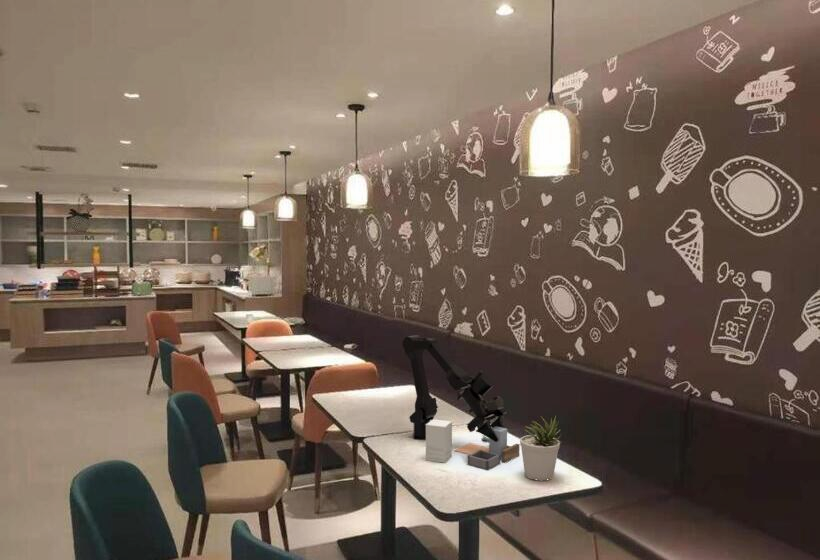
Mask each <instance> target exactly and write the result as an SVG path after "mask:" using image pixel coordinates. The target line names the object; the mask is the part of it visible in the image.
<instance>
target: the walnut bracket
mask: <svg viewBox="0 0 820 560" xmlns="http://www.w3.org/2000/svg"><path fill="white" fill-rule="evenodd" d="M520 446H521V445H520V444H519V443H515V444H513V445H508V444H507V449H505V450H503V451H502V460H501V462H502V463H504V464H506V463H508V462H509V460H510V461H511V459H512V460H513V459H515V458H517V457H519V456H520ZM507 461H508V462H507ZM505 462H506V463H505Z"/></svg>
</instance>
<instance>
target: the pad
mask: <svg viewBox="0 0 820 560" xmlns="http://www.w3.org/2000/svg"><path fill="white" fill-rule="evenodd" d="M479 450H483V451H487V452H489V446H488V447H487V446H484V445H479V444H475V443H472V442H468V443H467V444H464V445H462V446H460V447H457V448H455V449H454V452H457V453H461V454H464V455H467V456H468V455H470V454H472V453H475V452H477V451H479Z"/></svg>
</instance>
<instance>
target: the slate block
mask: <svg viewBox="0 0 820 560" xmlns="http://www.w3.org/2000/svg"><path fill="white" fill-rule="evenodd" d="M492 430H493V431H494V433H495V435H496V436H497V438H498V441H497V442H495V441H493V440H492V439H490V438H489V441H488V448H489V452H491V453H495V454H498V455H500V461H502V460H501V459H502V451H503V450H505V449H507V445H508V428H505V427H504V428H501V427H497V426H496V427H493V428H492Z"/></svg>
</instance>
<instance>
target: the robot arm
mask: <svg viewBox="0 0 820 560" xmlns="http://www.w3.org/2000/svg"><path fill="white" fill-rule="evenodd" d="M438 342H439V341H438V340H437V339H436V338H428V337H421V335H409V336H405V337H404V338H403V340H402V343H401V345H402V348H403V352H404V354H405V356H406V357H407V358H408V360H409V364H410V368H411V369H410V370H411V373H412V377H413V378H412V379H413V384H414V388H415V394H416V398H415V402H414V411H413V413H412V414H410V415H409V417H408V419H409V421H410V423H411V424H413V425H412V426H413V432H412V437H413V440H426V424H427V423H429V422H430V421H432V420H433V419H434V417H435V416H436V414H437V413H438V408H439V406H438V404H437V398H436V397H432V395H431V394H430V392H429V391H430V390H429V387H428V381H427V380H428V379H427V376H426V370H425V365H424V359H423V355H424V352H425V350H426V351H427V352H428V353H429V355H430V356H431V357H432V358H433V360H434V361H435V362H436V364H437V365H438V366H439V367H440V369H442V371H443V372H444V374H445V377H446V381H447V382H448V385H449V386H450V388H451V389H452V390H454V391H455V390H456V391H459V390H462V389H463V390H462V391H459V392H457V396H456V397H457V398H456V400H457V401H460V400H463V401H464V403H465V404H466V405H467V407H468V408H469V409H468V412H469V414H473V415H474V417H473V418H472V419H471V420H470V421H469V422H468V423H467V424H466V427H467V430H468V431H469V432H470V433H472V432H476V433H479V434H481V435H485V436H487V437H488V438H490V439H492V440H493V441H495V442H497V441H498V438H497V436H496V435H495V433H494V431H493V430H492V428H493V427H496V426H497V427H501V428H505V427H504V423H503V420H504V415H506V414H507V413H508V411H507V409H506V408H505V407H504V405H503V404H504V399H503V398H502V397H501V396H500V395H497V396H494V397H493V399H492V400H491V401H488V400H487V399H483V397H482V396H484V395H485V394H486V393H488V392H489V391H490V390H491V389H492V388H493V387H494V386H495V380H494V378H493V377H492V376H491V375H489V374H487V373H485V372H484V370H481V371H479V372H477V375H476V376H475V377H474V376H470V375H469V373H468V372H466V370H464V369H463V368H462V367H459V366H458V365H456V364H455V363H454V362H453V360H452V359H451V358H450V356H449V355H448V354H447V353H446V351H445V350H444V349H443V348H442V346H440V344H439V343H438ZM491 427H492V428H491ZM476 428H477V429H476Z"/></svg>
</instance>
